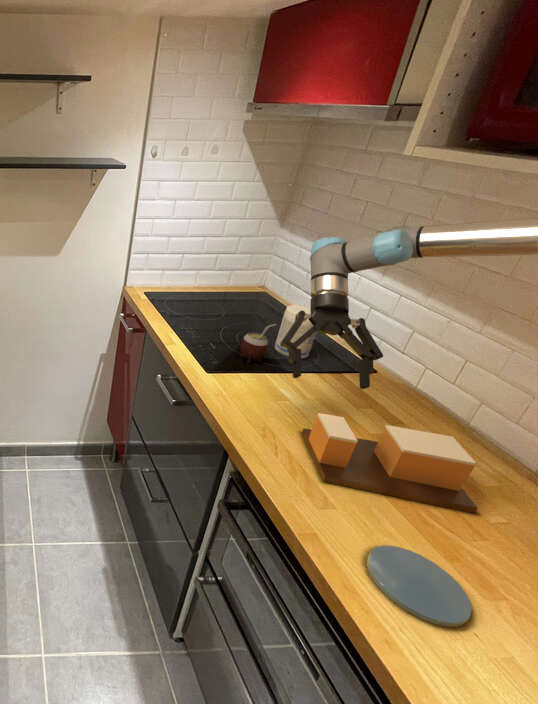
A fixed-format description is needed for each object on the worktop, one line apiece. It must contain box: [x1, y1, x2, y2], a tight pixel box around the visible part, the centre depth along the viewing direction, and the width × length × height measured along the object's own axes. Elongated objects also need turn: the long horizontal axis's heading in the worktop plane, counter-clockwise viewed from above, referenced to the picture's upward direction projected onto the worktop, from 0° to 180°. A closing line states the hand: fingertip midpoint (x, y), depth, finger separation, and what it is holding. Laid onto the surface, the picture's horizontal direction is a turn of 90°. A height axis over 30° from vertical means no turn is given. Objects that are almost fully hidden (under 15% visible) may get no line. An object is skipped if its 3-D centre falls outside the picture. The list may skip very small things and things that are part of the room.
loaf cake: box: [374, 424, 477, 491], centre depth 94 cm, size 12×8×8 cm, turn 73°
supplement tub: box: [274, 304, 318, 360], centre depth 140 cm, size 10×10×15 cm
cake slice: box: [309, 412, 358, 468], centre depth 98 cm, size 5×8×8 cm, turn 163°
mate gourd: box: [239, 323, 278, 364], centre depth 135 cm, size 8×8×15 cm
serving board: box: [301, 427, 479, 514], centre depth 97 cm, size 26×16×2 cm, turn 73°
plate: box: [366, 545, 473, 628], centre depth 73 cm, size 13×13×1 cm
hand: (330, 382), depth 102 cm, fingers open, 13 cm apart
